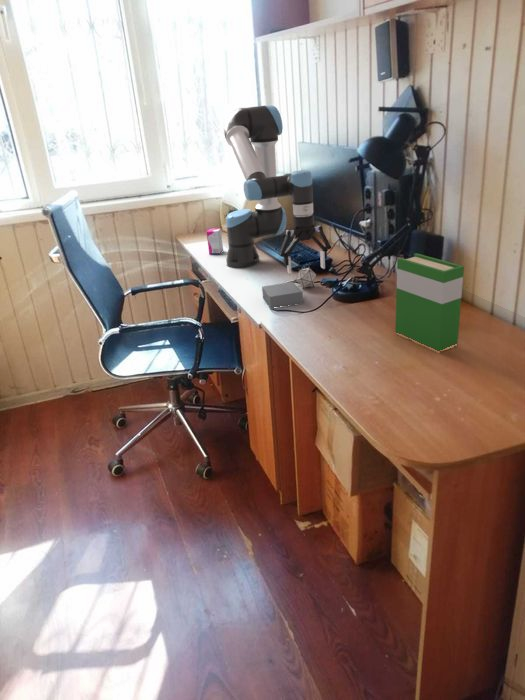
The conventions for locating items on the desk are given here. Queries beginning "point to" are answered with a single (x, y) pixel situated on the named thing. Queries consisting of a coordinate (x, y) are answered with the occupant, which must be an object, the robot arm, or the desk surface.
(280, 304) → the base block
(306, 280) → the game die
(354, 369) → the desk surface
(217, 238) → the supplement box
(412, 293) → the hardback book
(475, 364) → the desk surface
